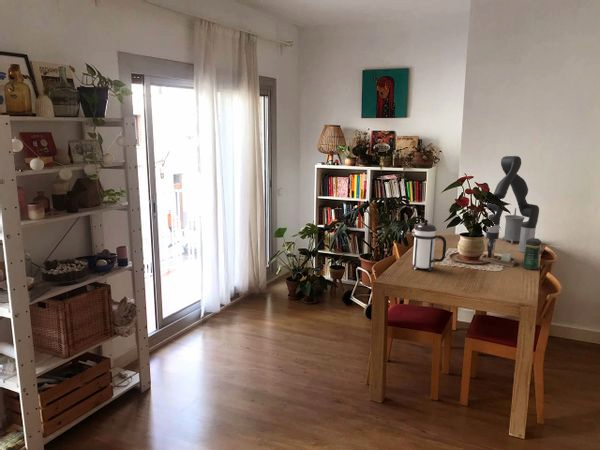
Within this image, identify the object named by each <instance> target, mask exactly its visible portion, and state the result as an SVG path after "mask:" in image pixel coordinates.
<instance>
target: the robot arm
mask: <svg viewBox="0 0 600 450" xmlns="http://www.w3.org/2000/svg"><path fill="white" fill-rule="evenodd" d="M500 166H501V169H502V171H503V172H504V174H505V176H504V177H503V178H502V179H501V180H500V181H498V183H497V185H496V186H495V189H494V192H493V193H492V195H494V196H496V197H497V198H498V199H499V200H500V201H501V202H503V203H504V204H505V202H504V201H503V199H505V198H506V195H507V193H508V190H509V188H510V187H511V189H512V192H513V194H514V197H515V199H516V203H517V206H518V210H519V213H520V214H521V215H520V216H523V217H525V218H528V220H527V221H523V222H522V224H521V232H520V241H518V252H520V253H525V246H526V240H528V239H531V238H536V236H535V235H536V229H537V224H538V222H539V217H540V216H539V215H540V207H539V206H538V205H537V204H531V203H528V202H527V200H526V199H527V198H526V197H527V195H528V193H529V188H528V185H527V182H526V180H525V179H524V178H523V177H521V176H520V175H519V174H518V172H519V171H520V168H521V166H522V158H521V157H520V156H519V155H505V156H503V157H502V158H501V160H500ZM486 206H487V207H488V208H487V207H486V209H487V211H492V212H496V213H493V214H492V213H491V214H489V215H488V218H487V219H491V220H492V221H493V222H494V224H495V225H494V226H493V227H488V228H487V227H486V233H485V238H486V239H489V240H488V241H487V244H486V247H487V248H486V253H487V252H488V258H491V256H492V249H493V248H495V249H496V241H497V240H498V239H499V238H500V237H499V236H500V224H501V217H502V214H503V211H504V210H503V209H501V208H500V207H499V206H497V205H495V204H490V203H487V202H486ZM503 207H504V208H505V205H503ZM489 208H491V209H492V210H490V209H489ZM487 229H488V231H487ZM489 249H490V250H489Z"/></svg>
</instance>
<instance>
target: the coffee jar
mask: <svg viewBox="0 0 600 450" xmlns="http://www.w3.org/2000/svg"><path fill="white" fill-rule="evenodd" d="M541 244H542V241H541V240H540V238H536V237H535V238H531V239H528V240H526V246H525V252H524V253H523V254H524V255H523V261H522V262H523V263H522V268H523V269H526V270H529V269H530V270H534V271H535V270H536V269H538V267H539V258H540V252H541Z"/></svg>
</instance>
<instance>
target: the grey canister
mask: <svg viewBox="0 0 600 450" xmlns="http://www.w3.org/2000/svg"><path fill="white" fill-rule="evenodd" d="M516 214H517V207H514V214H513V215H512V214H507V215H504V218H505V227H504V235H503V237H502V238H501V241H504V240H506V241H510V244H511V245H513V244H514V242H519V241H520V232H521V224H522V222H524V220H525V219H526V217H524V216H522V215H516Z"/></svg>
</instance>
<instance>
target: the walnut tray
mask: <svg viewBox="0 0 600 450" xmlns="http://www.w3.org/2000/svg"><path fill="white" fill-rule="evenodd" d="M486 255H487V253H483V254H482V255H481V256H480V257H479V259H480V260H483V261H488V262H490V263H489V264H493V263H494V264H495V265H499V264H502V265H501V266H508V267H511V268H512V267H514V266H515V264H516V262H517V258H514V257H511V261H510V262H509V261H502V260H501V255H495V254H494V258H487V257H486ZM494 264H493V265H494Z"/></svg>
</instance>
